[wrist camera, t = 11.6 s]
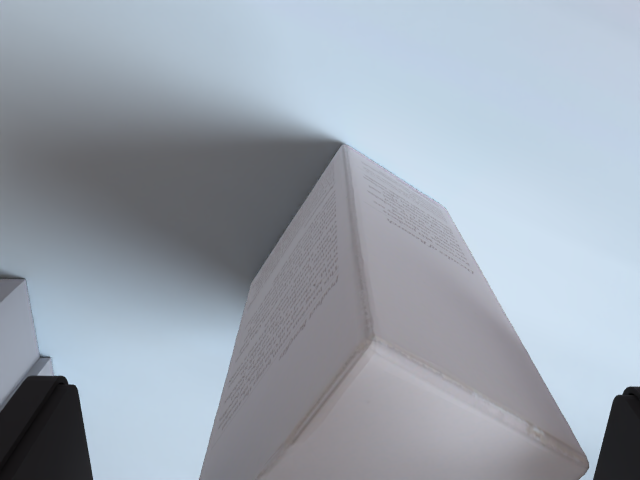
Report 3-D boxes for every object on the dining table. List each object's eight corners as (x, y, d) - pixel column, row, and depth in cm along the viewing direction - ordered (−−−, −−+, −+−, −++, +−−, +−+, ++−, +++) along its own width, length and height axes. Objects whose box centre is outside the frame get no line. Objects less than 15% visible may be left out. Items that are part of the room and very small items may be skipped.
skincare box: (352, 339, 22) (370, 696, 11) (249, 281, 21) (153, 602, 10) (454, 204, 20) (606, 473, 9) (344, 134, 19) (358, 333, 8)
